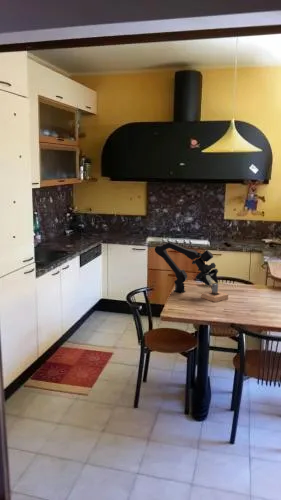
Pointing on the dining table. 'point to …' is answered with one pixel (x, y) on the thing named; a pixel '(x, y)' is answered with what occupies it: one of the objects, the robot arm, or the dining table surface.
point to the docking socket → (214, 296)
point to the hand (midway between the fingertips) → (213, 284)
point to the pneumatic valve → (209, 279)
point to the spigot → (214, 289)
